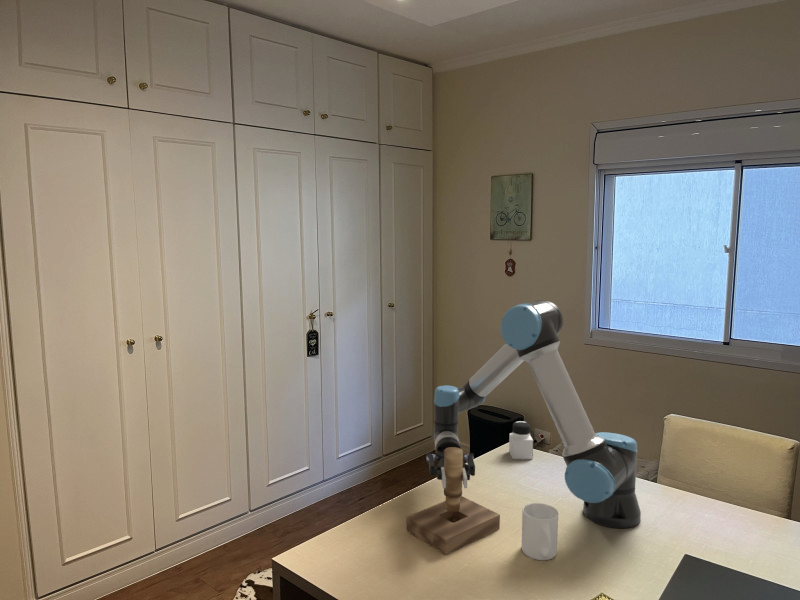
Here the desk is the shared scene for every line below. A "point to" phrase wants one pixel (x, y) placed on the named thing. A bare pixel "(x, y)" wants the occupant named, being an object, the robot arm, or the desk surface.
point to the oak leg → (453, 477)
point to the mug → (539, 531)
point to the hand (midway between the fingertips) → (455, 482)
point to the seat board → (452, 525)
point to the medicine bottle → (521, 441)
